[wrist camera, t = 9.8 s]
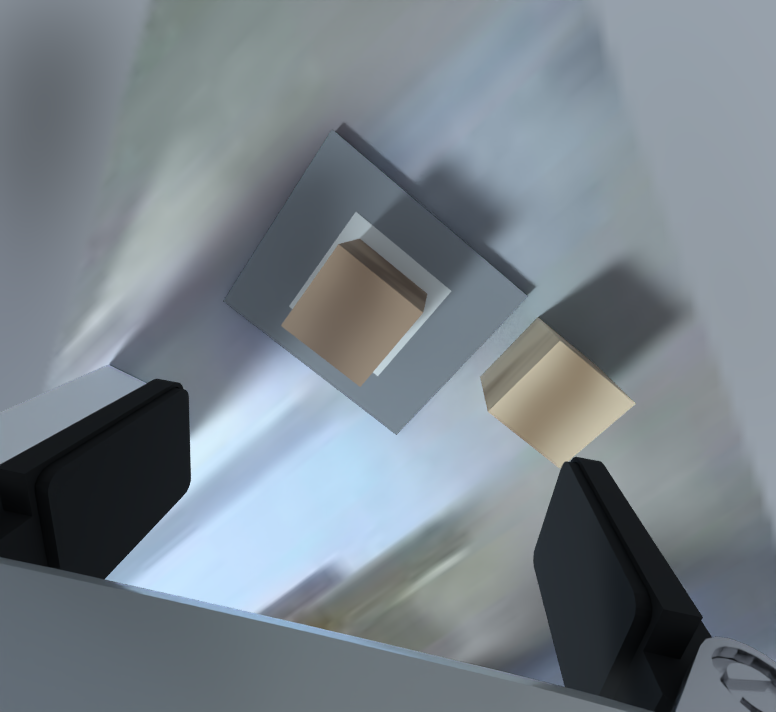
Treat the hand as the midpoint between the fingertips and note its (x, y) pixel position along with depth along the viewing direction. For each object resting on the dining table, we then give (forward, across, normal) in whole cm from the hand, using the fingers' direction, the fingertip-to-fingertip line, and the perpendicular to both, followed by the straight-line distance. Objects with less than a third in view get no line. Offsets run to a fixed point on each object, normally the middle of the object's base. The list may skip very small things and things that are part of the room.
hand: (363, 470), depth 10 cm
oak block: (+16, -8, +2) cm, 18 cm away
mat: (+16, +3, -1) cm, 16 cm away
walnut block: (+15, +3, -1) cm, 16 cm away
